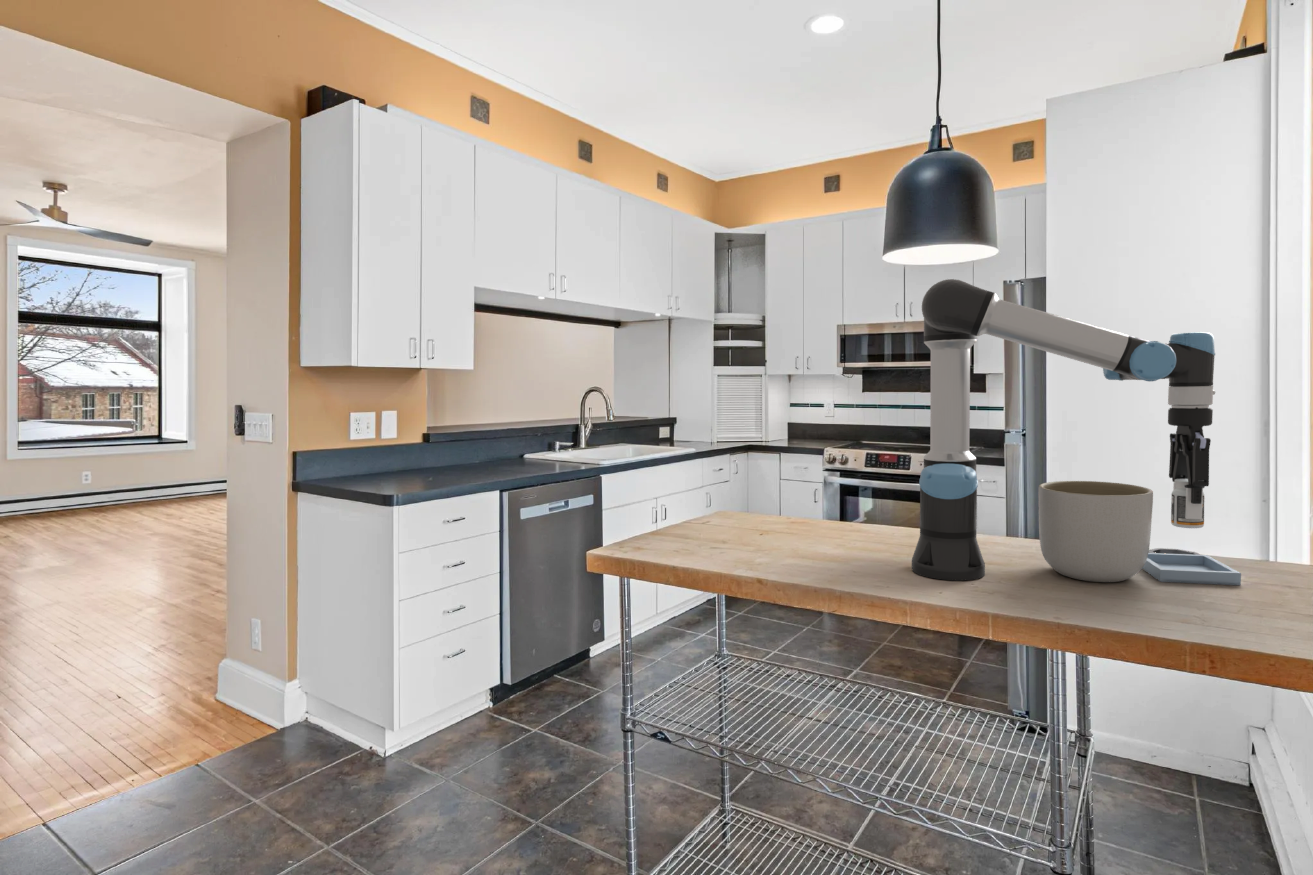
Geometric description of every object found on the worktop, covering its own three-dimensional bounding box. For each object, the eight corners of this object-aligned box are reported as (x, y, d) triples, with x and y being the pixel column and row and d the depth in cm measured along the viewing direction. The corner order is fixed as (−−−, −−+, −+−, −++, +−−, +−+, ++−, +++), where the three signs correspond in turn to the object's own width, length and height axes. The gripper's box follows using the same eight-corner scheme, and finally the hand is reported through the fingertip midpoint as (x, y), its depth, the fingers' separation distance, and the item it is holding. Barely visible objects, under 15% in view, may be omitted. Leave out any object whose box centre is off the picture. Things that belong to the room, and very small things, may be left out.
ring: (1158, 563, 163) (1158, 557, 163) (1142, 552, 173) (1142, 547, 173) (1210, 565, 160) (1210, 559, 160) (1190, 554, 170) (1191, 549, 170)
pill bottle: (1210, 527, 152) (1212, 480, 151) (1189, 530, 150) (1191, 482, 149) (1184, 522, 157) (1185, 477, 156) (1163, 524, 156) (1165, 479, 155)
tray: (1160, 581, 149) (1160, 569, 149) (1134, 563, 164) (1134, 552, 163) (1240, 585, 145) (1241, 573, 145) (1206, 566, 160) (1207, 555, 160)
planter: (1133, 565, 162) (1136, 481, 160) (1164, 592, 142) (1168, 497, 140) (1030, 560, 168) (1031, 479, 167) (1046, 585, 149) (1048, 494, 147)
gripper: (1233, 408, 142) (1229, 525, 143) (1191, 404, 160) (1188, 508, 161) (1188, 409, 144) (1185, 524, 146) (1152, 405, 162) (1150, 507, 164)
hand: (1187, 515), depth 153 cm, fingers closed on pill bottle, 6 cm apart
